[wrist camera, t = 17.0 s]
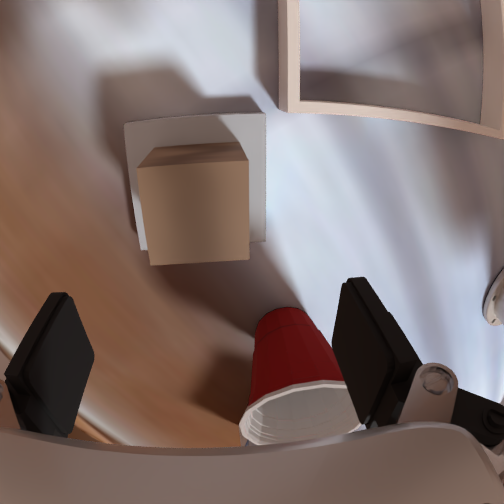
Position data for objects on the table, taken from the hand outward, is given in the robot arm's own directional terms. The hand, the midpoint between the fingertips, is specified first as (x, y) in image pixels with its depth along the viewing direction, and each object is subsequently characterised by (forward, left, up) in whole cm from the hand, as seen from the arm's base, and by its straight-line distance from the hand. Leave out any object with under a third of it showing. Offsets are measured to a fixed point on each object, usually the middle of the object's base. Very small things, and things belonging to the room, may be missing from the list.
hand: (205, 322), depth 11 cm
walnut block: (+1, 0, -15) cm, 15 cm away
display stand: (+1, 0, -16) cm, 16 cm away
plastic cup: (-6, +16, -16) cm, 24 cm away
